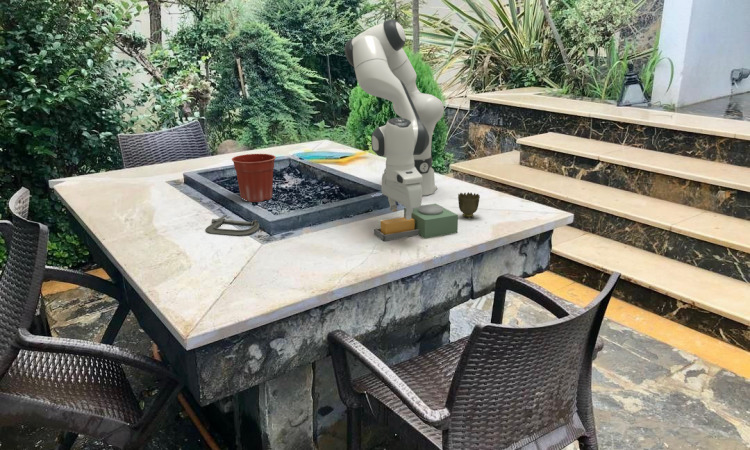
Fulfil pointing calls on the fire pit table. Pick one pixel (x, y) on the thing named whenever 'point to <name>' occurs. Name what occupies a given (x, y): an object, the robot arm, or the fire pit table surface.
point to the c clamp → (230, 232)
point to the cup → (468, 204)
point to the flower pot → (255, 176)
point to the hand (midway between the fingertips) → (400, 214)
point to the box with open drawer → (426, 223)
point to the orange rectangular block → (397, 225)
